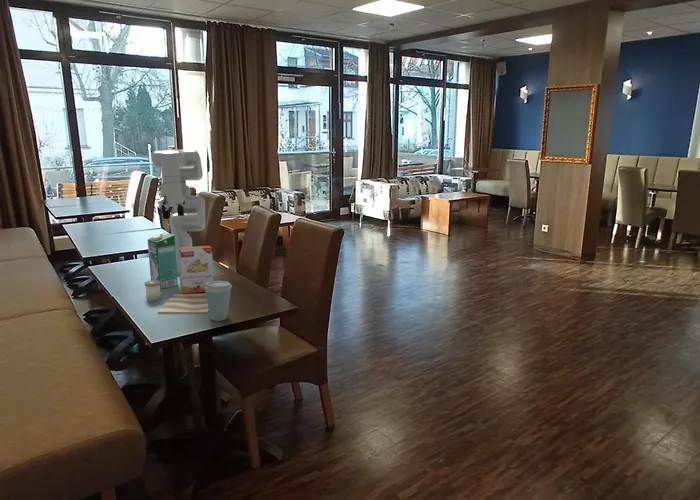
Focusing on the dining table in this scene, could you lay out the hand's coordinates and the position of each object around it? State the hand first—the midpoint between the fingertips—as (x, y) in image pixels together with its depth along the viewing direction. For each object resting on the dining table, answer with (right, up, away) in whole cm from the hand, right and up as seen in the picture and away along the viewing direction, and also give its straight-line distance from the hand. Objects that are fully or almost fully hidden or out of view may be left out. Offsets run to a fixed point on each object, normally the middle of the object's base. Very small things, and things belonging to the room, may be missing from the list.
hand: (173, 217), depth 226 cm
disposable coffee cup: (+29, -43, -29) cm, 59 cm away
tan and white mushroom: (-6, -37, -9) cm, 38 cm away
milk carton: (-8, -32, +11) cm, 35 cm away
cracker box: (+11, -35, +1) cm, 36 cm away
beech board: (+12, -38, -14) cm, 42 cm away
